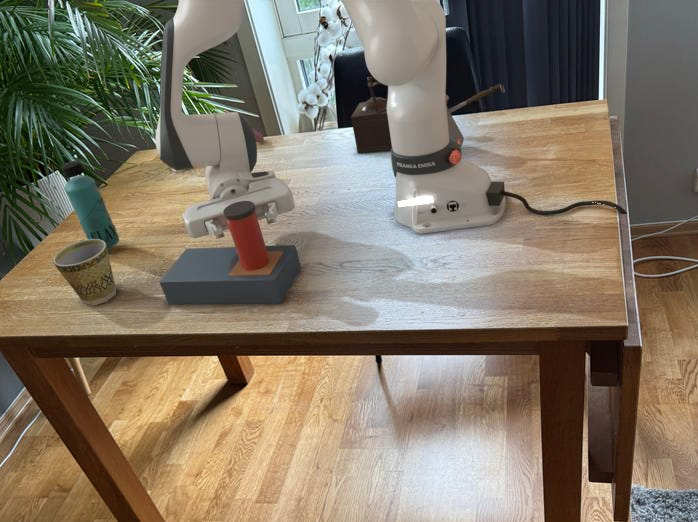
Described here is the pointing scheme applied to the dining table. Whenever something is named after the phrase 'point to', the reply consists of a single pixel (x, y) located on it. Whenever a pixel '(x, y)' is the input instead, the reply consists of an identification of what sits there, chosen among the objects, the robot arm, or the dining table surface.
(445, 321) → the dining table surface
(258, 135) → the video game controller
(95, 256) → the ceramic cup
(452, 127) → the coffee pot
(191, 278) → the platform
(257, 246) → the red canister
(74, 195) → the beverage bottle
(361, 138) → the manual coffee grinder
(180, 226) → the dining table surface
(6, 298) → the dining table surface
